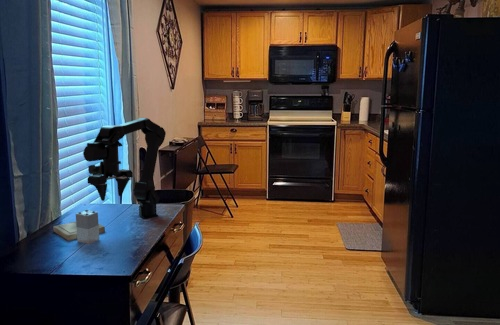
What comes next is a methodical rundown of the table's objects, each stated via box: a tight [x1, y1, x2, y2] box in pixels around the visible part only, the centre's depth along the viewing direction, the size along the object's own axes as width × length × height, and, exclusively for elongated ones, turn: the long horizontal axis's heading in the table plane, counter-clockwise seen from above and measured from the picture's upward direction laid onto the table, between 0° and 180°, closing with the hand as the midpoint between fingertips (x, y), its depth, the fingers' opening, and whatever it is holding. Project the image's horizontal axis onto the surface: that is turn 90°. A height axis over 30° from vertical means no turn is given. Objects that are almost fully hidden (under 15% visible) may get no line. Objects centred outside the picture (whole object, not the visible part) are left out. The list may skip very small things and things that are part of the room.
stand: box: [52, 221, 106, 242], centre depth 159 cm, size 14×14×2 cm
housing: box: [75, 209, 100, 245], centre depth 149 cm, size 5×6×11 cm
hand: (111, 198), depth 161 cm, fingers open, 9 cm apart
